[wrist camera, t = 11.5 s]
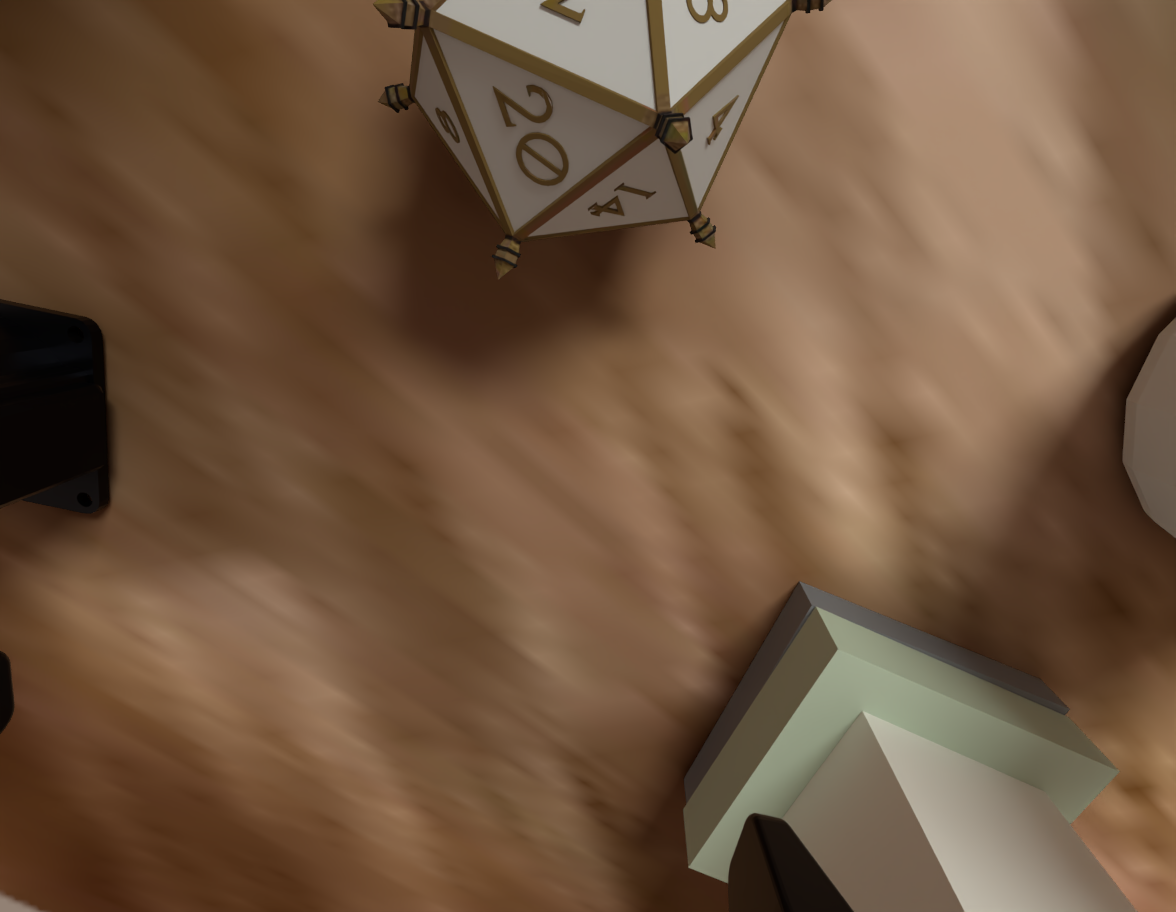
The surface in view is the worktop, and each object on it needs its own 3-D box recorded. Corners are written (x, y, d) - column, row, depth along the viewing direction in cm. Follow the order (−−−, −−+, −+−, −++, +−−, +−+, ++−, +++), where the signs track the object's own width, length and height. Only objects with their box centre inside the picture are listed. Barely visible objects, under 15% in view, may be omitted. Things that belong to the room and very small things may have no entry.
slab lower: (682, 764, 24) (687, 811, 22) (793, 571, 21) (811, 605, 19) (892, 844, 25) (917, 898, 23) (1027, 666, 22) (1069, 709, 20)
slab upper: (682, 809, 22) (688, 867, 20) (815, 606, 19) (838, 648, 17) (908, 901, 23) (937, 966, 21) (1068, 717, 20) (1119, 771, 18)
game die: (655, 157, 21) (827, 334, 14) (389, 184, 19) (451, 405, 12) (702, -254, 14) (1060, -269, 8) (299, -285, 12) (330, -340, 6)
